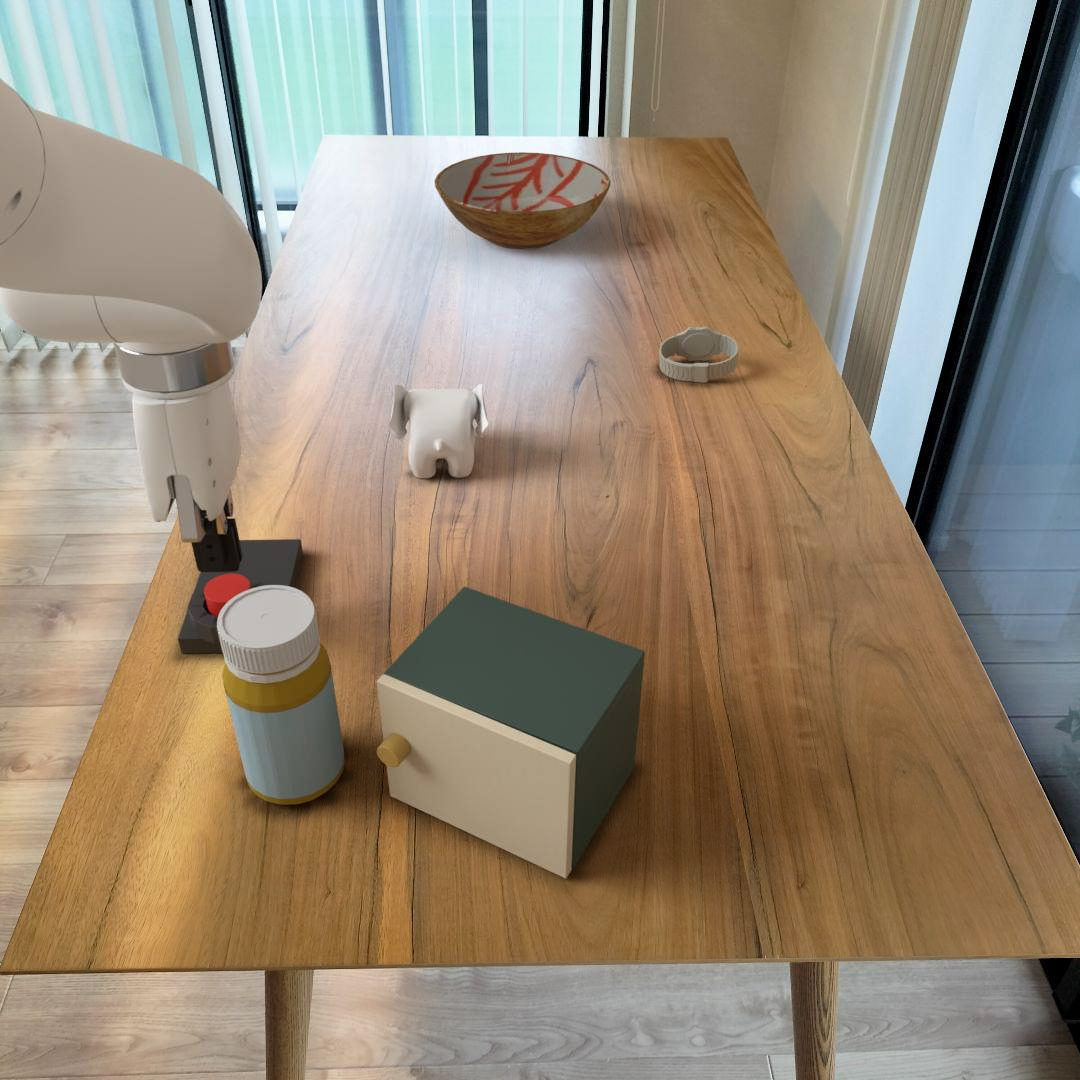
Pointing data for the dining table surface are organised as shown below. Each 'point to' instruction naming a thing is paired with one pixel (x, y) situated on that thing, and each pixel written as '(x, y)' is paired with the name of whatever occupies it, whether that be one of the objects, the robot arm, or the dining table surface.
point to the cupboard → (538, 689)
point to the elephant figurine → (439, 427)
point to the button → (224, 591)
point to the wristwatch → (698, 354)
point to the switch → (261, 568)
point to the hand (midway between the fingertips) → (220, 565)
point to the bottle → (280, 694)
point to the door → (478, 774)
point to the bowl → (522, 196)
